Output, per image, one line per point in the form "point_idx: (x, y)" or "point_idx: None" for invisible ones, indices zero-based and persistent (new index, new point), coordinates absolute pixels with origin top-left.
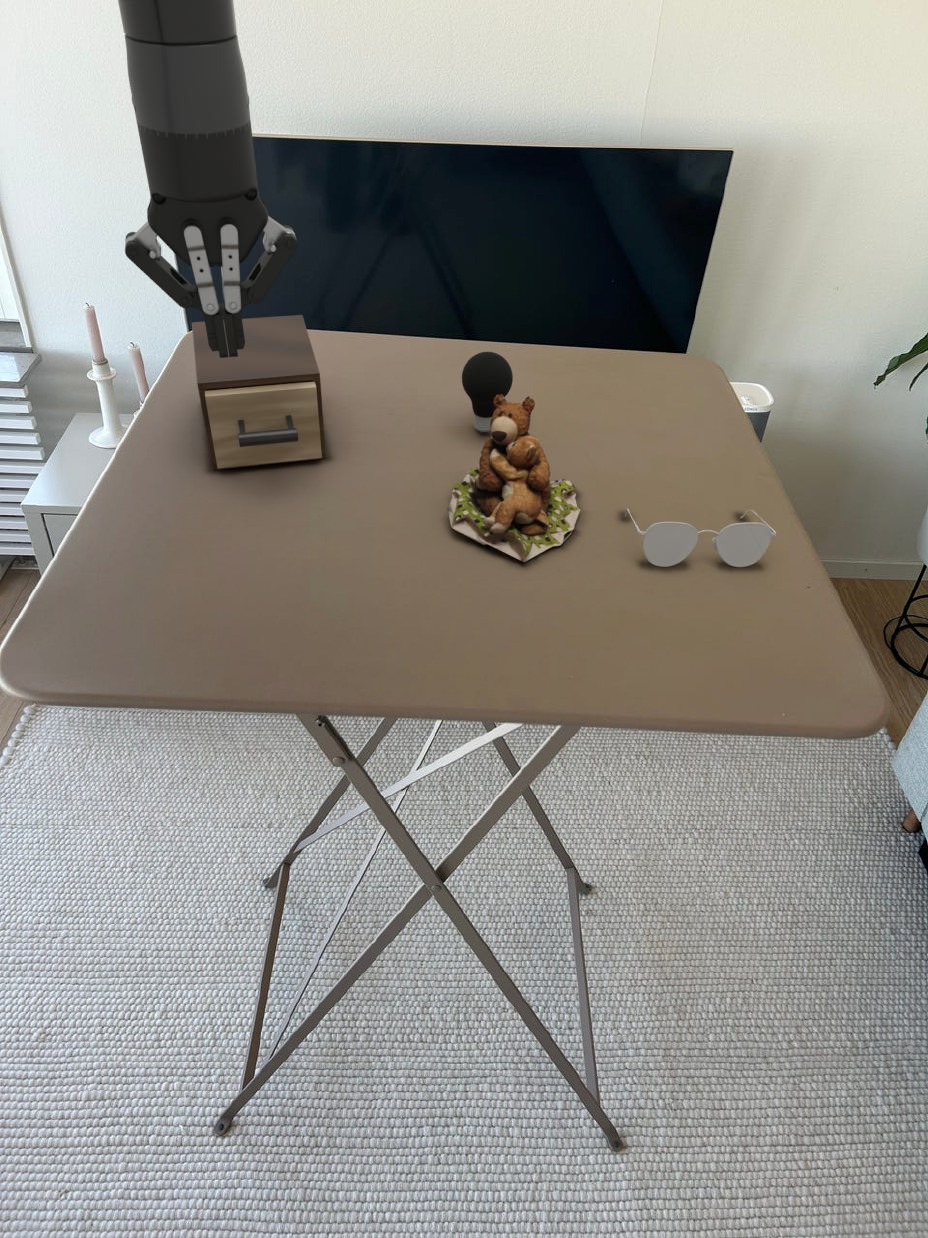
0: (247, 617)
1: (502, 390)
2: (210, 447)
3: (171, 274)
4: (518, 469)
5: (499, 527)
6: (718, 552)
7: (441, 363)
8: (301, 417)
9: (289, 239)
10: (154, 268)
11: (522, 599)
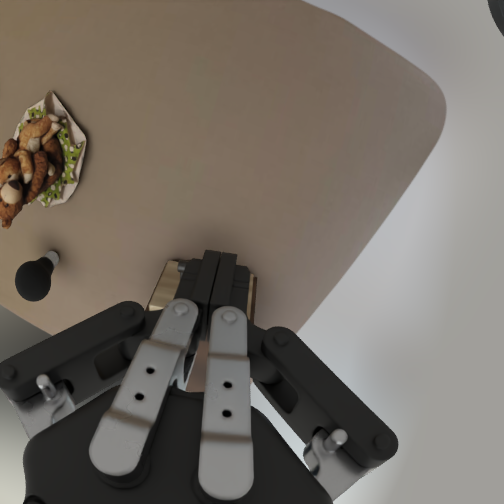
0: (277, 84)
1: (24, 263)
2: (254, 291)
3: (298, 394)
4: (17, 158)
5: (51, 115)
6: None
7: None
8: (171, 288)
9: (3, 381)
10: (338, 407)
11: (66, 53)
